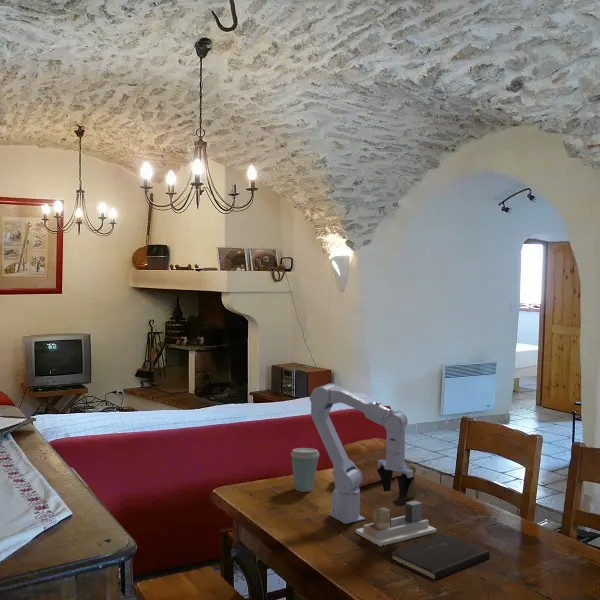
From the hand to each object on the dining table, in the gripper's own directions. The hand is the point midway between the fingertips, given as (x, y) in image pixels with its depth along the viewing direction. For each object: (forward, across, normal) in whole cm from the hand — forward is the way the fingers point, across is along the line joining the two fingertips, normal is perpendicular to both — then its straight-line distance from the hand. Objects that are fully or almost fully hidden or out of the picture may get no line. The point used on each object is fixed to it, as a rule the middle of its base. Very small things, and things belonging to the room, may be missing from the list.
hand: (394, 494), depth 207 cm
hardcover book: (+11, +24, -4) cm, 27 cm away
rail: (+10, +4, -2) cm, 11 cm away
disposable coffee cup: (+11, -46, -4) cm, 47 cm away
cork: (+11, -21, +24) cm, 34 cm away
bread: (+11, -43, +23) cm, 50 cm away
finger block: (+9, +3, -8) cm, 13 cm away
